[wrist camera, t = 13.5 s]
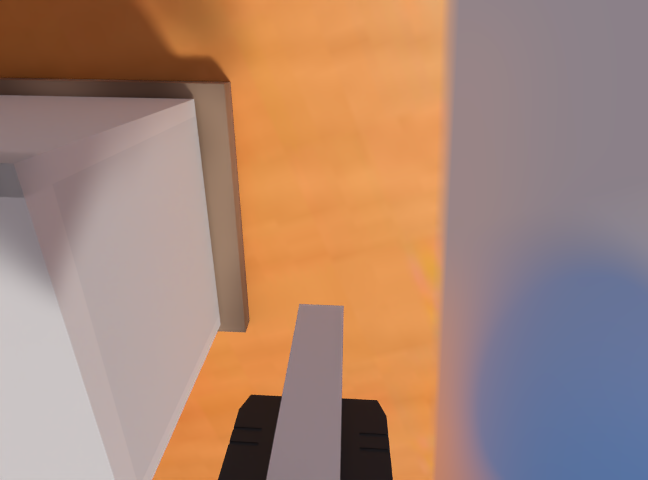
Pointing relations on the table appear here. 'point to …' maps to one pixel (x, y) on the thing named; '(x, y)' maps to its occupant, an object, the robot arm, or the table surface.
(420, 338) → the table surface
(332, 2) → the table surface
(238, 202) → the board
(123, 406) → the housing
